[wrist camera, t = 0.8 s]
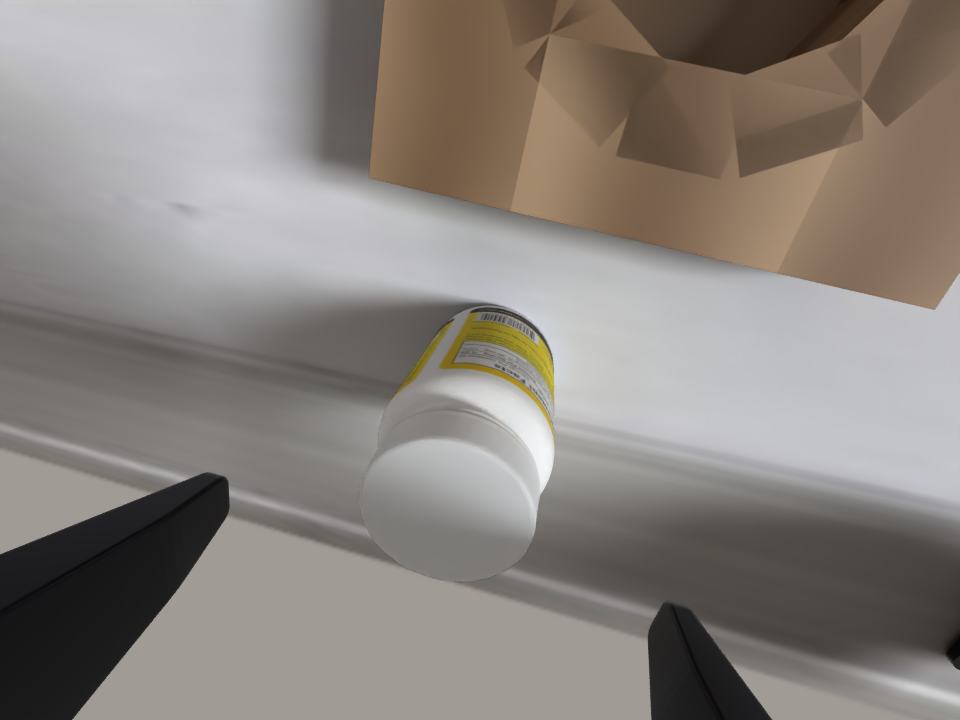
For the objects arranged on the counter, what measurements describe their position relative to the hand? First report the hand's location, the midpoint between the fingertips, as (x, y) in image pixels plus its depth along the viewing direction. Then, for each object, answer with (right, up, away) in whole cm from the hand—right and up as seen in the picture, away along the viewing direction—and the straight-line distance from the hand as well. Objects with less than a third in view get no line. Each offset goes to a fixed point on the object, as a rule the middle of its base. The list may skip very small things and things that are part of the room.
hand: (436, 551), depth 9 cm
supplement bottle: (+1, +4, +9) cm, 10 cm away
